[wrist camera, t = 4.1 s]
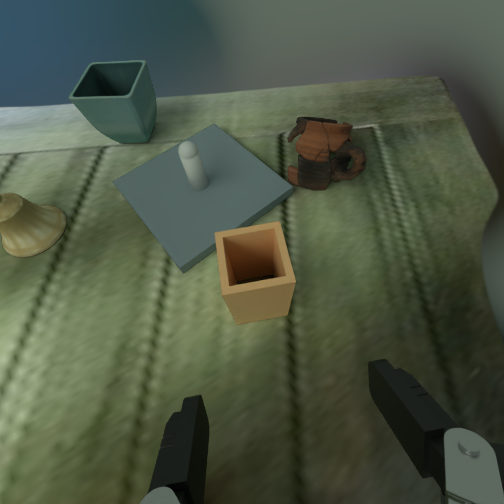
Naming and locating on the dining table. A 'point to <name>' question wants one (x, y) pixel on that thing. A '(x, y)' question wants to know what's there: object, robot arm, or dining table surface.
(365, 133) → the dining table surface
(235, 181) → the post board
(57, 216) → the hand bell
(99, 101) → the flower pot
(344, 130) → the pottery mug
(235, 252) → the collar
